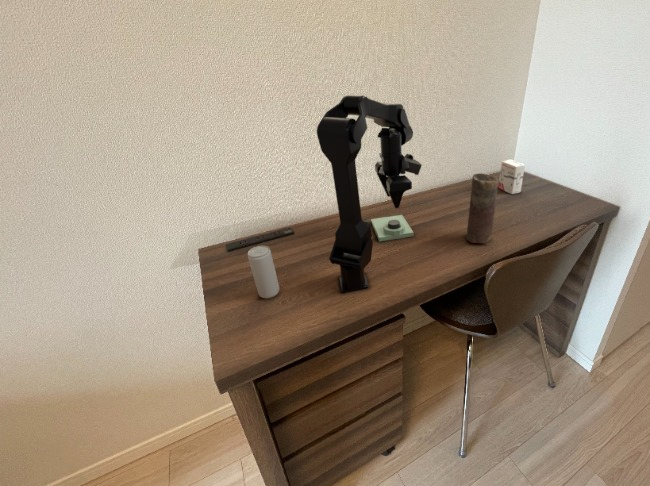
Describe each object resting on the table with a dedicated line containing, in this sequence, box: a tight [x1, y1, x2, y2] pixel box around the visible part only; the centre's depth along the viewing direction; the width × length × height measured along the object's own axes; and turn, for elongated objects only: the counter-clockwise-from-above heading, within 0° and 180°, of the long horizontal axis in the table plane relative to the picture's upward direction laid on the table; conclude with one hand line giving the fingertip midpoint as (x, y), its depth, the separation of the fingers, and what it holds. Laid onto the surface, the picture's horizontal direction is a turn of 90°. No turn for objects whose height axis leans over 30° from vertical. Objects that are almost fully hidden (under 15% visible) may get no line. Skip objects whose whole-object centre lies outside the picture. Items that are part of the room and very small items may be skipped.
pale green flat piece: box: [370, 214, 415, 242], centre depth 103 cm, size 13×11×3 cm
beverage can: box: [247, 245, 280, 299], centre depth 74 cm, size 5×5×12 cm
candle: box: [466, 173, 499, 244], centre depth 93 cm, size 8×7×20 cm
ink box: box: [497, 159, 526, 195], centre depth 130 cm, size 9×5×12 cm, turn 25°
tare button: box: [388, 220, 400, 229], centre depth 100 cm, size 4×4×2 cm
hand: (393, 201), depth 96 cm, fingers open, 8 cm apart
